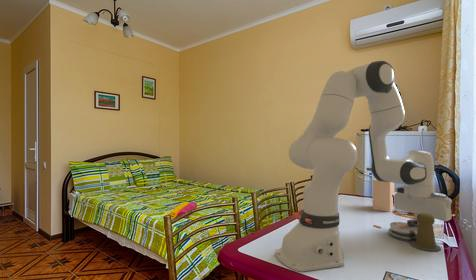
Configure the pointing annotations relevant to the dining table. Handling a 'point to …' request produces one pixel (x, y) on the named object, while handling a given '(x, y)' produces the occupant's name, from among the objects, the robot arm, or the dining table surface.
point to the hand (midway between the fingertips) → (420, 225)
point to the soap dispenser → (382, 195)
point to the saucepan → (405, 228)
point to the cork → (425, 231)
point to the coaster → (413, 243)
